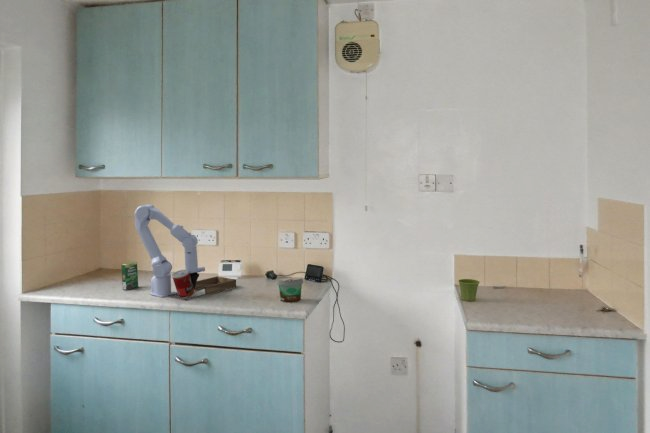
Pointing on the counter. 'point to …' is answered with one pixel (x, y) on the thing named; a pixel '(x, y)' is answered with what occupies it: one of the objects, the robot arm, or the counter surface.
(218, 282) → the wooden tray
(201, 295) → the frame
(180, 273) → the robot arm
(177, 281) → the canned food
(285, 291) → the food container
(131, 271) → the coffee box
